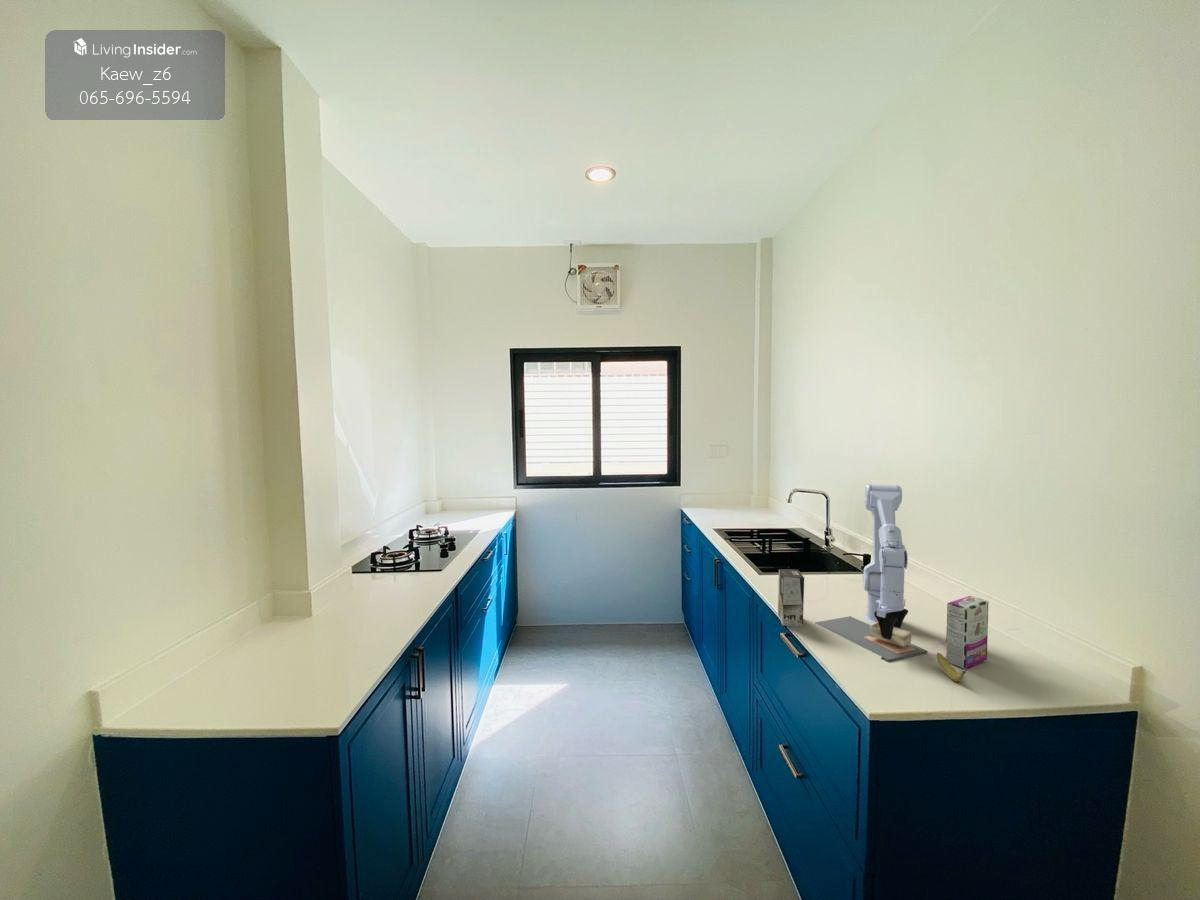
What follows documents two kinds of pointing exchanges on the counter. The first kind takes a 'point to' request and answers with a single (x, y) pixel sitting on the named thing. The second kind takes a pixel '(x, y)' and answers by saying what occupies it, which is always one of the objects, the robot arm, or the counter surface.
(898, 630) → the card box
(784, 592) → the coffee box
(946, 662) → the banana
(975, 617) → the candy bar box
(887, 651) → the mat
